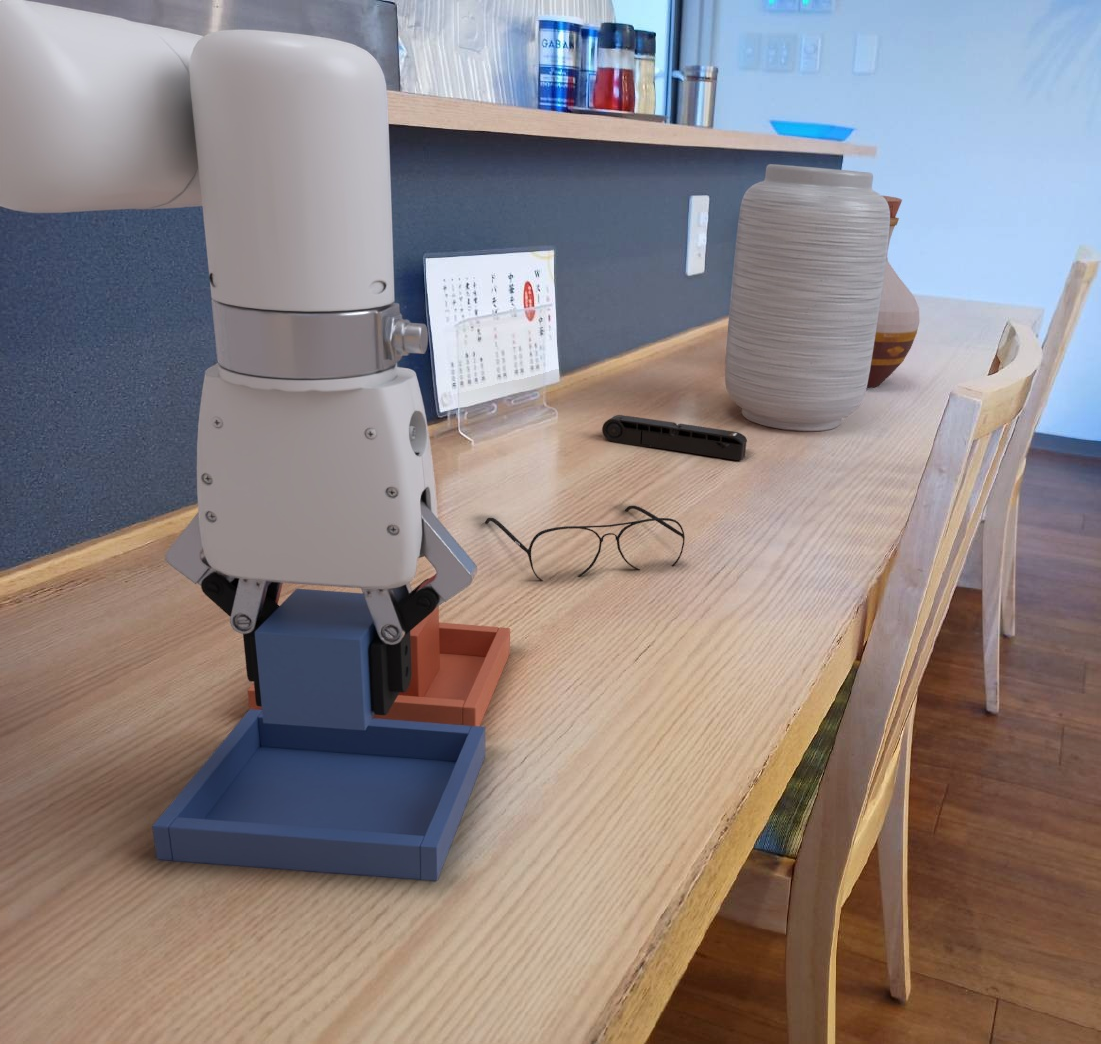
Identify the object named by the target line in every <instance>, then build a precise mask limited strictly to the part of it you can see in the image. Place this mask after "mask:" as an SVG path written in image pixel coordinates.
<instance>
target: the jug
mask: <svg viewBox="0 0 1101 1044" xmlns="http://www.w3.org/2000/svg"><path fill="white" fill-rule="evenodd" d="M882 196H883V197H884V198H885V200H886V201H887V203H888V206H889V210H890V226H889V237H888V247H887V255H886V263H885V270H884V278H883V286H882V293H881V300H880V307H879V314H878V321H877V328H876V335H875V341H874V348H873V354H872V361H871V367H870V373H869V379H868V384H867V389H868V388H877V387H880V385H881V384H882V383H884V382H885V381H886V380H887V379H888V378H889V377H890V376H891V375H892V374H893V373H894V371H896V370H897V369H898V368H899V367H900V365H902V364H903V363H904V361H905V360H906V357H907V356H908V354H909V352H910V351H911V349H912V346H913V343H914V341H915V339H916V337H917V334H918V329H919V326H920V322H921V321H920V308H919V305H918V303H917V300H916V297H915V295H914V294H913V293H912V292H911V290H910V288H908V286H907V285H906V284H905V282H904V281H903V280H902V279H901V277H899V275H898V273H897V272H896V271H895V269H894V268H893V267H892V265H891V264H890V262H889V258H888V252H889V247H890V242H891V239H892V236H893V232H894V230H895V227H896V226H897V225H898V223H899V220H900V218H899V217H897V214H898V211H899V209H900V207H901V204H902V202H903V199H902V198H899V197H895V196H889V195H882Z"/></svg>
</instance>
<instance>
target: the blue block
mask: <svg viewBox="0 0 1101 1044" xmlns="http://www.w3.org/2000/svg"><path fill="white" fill-rule="evenodd" d="M375 636H376V628H375V625H374V622H373V619H372V617H371V614H370V611H369V609H368V606H367V603H366V600H365V598H364V595H363V592H362V593H361V592H350V591H349V592H348V591H335V590H323V589H308V588H295V589H294V590H293V592H292V593H291V594H290V595H289V596H288V597H287V598H286V599H285V600H284V601H283V602H282V603H281V604H280V605H279V607H278V608H277V609H276V610H275V611H274V613H273V614H272V615H271V616H270V617H269V618H268V619H267V620H266V621H265V622H264V623H263V624H262V625H261V626H260V627H259V628H258V629H257V630H256V631H255V641H256V652H257V663H258V673H259V684H260V694H261V705H262V715H263V723H267V724H281V725H295V726H308V727H322V728H336V729H350V730H366V728H367V726H368V725H369V723H370V722H371V720H372V718H373V717H374V715H375V714H374V712H372V710H371V692H370V672H369V645H370V644H371V642H372V641H373V639H374V638H375Z"/></svg>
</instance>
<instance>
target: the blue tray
mask: <svg viewBox="0 0 1101 1044" xmlns="http://www.w3.org/2000/svg"><path fill="white" fill-rule="evenodd" d="M485 758H486V726H481V725H480V726H472V727H471V726H466V725H453V724H440V723H427V722H414V721H401V720H388V719H375V718H372V720H371V722H370V723H369V725H368V726H367V728H366V730H350V729H336V728H322V727H308V726H295V725H281V724H267V723H263V715H262V710H255V709H250V710H249V709H248V711H247V712H245V714H244V716H243V717H242V718H241V719H240V720H239V721H238V723H237V724H236V725H235V726H234V727H233V728H232V730H230V732H229V733H228V734H227V736H226V737H225V738H224V739H223V740H222V742H221V743H219V745H218V746H217V747H216V749H215V750H214V751H213V752H212V754H210V756H209V757H208V758H207V760H206V761H205V762H204V763H203V764H202V766H201V767H200V768H199V769H198V770H197V772H196V773H195V774H194V775H193V776H192V778H191V779H190V780H189V781H188V782H187V783H186V784H185V786H184V787H183V788H182V789H181V790H180V792H179V793H178V794H177V795H176V797H175V798H174V799H173V800H172V801H171V802H170V804H169V805H168V806H167V808H166V809H165V810H164V811H163V812H162V813H161V815H160V816H159V817H158V818H157V819H156V821H154V823H153V824H152V826H151V827H152V828H151V829H152V834H153V842H154V849H155V850H154V851H155V858H156V860H157V861H162V862H163V861H164V862H177V863H188V864H189V863H191V864H203V865H216V866H227V867H228V866H229V867H242V868H254V869H255V868H258V869H267V870H268V869H269V870H282V871H293V872H295V871H296V872H306V873H307V872H309V873H320V874H321V873H322V874H334V875H335V874H336V875H348V876H358V877H359V876H361V877H374V878H388V879H400V880H415V881H424V882H425V881H426V882H427V881H428V882H438V880H439V878H440V875H441V872H442V870H443V867H444V864H445V862H446V859H447V857H448V854H449V851H450V849H451V846H452V844H453V841H454V838H455V836H456V834H457V830H458V828H459V825H460V823H461V820H462V817H463V815H464V812H465V810H466V807H467V804H468V803H469V800H470V796H471V794H472V792H473V789H474V786H475V784H476V781H477V778H478V776H479V773H480V771H481V768H482V765H483V763H484V760H485Z"/></svg>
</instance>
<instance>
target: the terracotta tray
mask: <svg viewBox="0 0 1101 1044" xmlns="http://www.w3.org/2000/svg"><path fill="white" fill-rule="evenodd" d="M439 651H440V668H439V670H438V672H437V674H436V676H435V677H434V679H433V681H432V683H431V685H430V687H429V689H428V690H427V692H426V694H425V696H424V697H415V696H402V695H398V696H397V698H396V700H395V701H394V703H393V705H392V706H391V708H390V710H389V712H388V713H387V715H374V717H373V718H375V719H388V720H401V721H414V722H427V723H440V724H453V725H466V726H471V727H472V726H480V727H481V724H482V722H483V720H484V717H485V715H486V712H487V710H488V708H489V705H490V703H491V701H492V698H493V696H494V694H495V693H494V692H495V691H496V689H497V686H498V683H499V681H500V679H501V677H502V673H503V671H504V669H505V667H506V664H507V662H508V659H509V656H510V653H511V629H510V627H501V626H500V627H499V626H491V625H490V626H489V625H479V624H478V625H476V624H466V623H465V624H463V623H451V622H450V623H449V622H440V621H439ZM247 698H248V711H249V710H250V709H255V710H262V706H257V705H256V699H255V689H254V683H253V684H252V685H251V686H250V687H249V688H248V689H247Z"/></svg>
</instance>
